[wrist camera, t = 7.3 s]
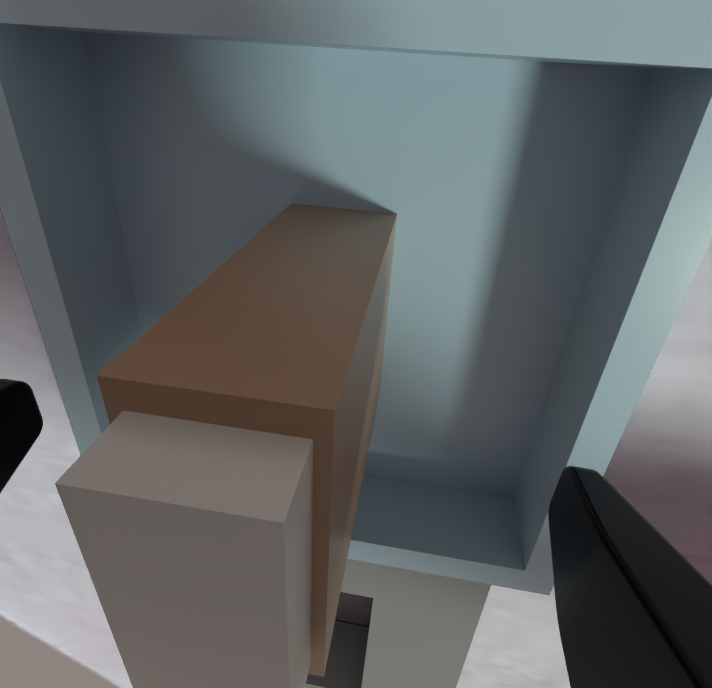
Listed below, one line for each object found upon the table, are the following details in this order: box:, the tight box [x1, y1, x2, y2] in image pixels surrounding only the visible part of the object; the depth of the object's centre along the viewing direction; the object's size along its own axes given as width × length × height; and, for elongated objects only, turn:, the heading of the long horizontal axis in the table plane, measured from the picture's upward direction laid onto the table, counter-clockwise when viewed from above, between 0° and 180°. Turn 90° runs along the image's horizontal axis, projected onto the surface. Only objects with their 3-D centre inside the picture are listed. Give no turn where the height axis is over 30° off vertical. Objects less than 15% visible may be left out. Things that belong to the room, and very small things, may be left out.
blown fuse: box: [55, 203, 397, 688], centre depth 8 cm, size 2×5×8 cm, turn 177°
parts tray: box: [0, 0, 712, 595], centre depth 11 cm, size 13×13×3 cm
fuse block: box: [305, 559, 491, 688], centre depth 19 cm, size 10×18×2 cm, turn 177°
